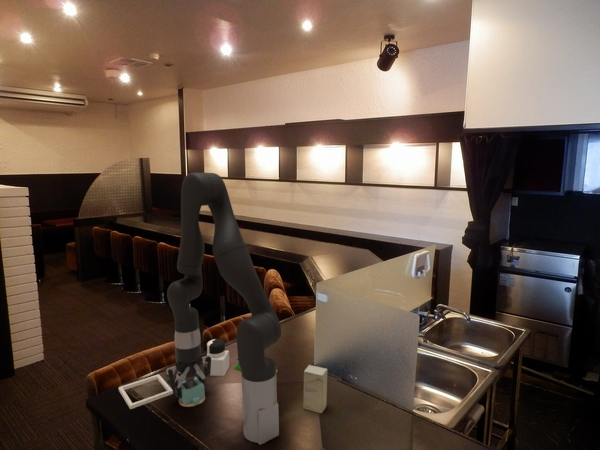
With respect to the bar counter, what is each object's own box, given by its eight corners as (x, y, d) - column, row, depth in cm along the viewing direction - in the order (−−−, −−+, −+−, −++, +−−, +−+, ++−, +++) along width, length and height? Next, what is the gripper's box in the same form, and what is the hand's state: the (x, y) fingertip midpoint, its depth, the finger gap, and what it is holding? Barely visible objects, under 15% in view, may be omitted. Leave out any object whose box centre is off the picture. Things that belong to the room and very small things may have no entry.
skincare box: (302, 409, 118) (302, 371, 117) (308, 401, 123) (308, 364, 121) (322, 414, 116) (322, 375, 114) (327, 405, 120) (327, 368, 118)
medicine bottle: (229, 368, 143) (228, 337, 141) (224, 379, 136) (222, 346, 134) (210, 367, 143) (209, 336, 142) (203, 378, 136) (202, 345, 135)
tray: (173, 397, 125) (173, 390, 125) (130, 412, 117) (129, 406, 117) (159, 380, 135) (158, 374, 135) (118, 393, 127) (118, 387, 127)
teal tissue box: (207, 399, 121) (206, 387, 120) (187, 407, 117) (186, 395, 116) (196, 388, 127) (195, 376, 127) (176, 395, 123) (176, 383, 123)
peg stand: (209, 403, 122) (208, 379, 120) (184, 413, 117) (183, 388, 116) (198, 392, 128) (197, 368, 127) (174, 401, 123) (173, 377, 122)
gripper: (169, 353, 113) (172, 407, 115) (215, 340, 122) (217, 390, 124) (159, 345, 119) (163, 396, 121) (204, 332, 128) (206, 380, 130)
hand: (190, 393), depth 123 cm, fingers closed on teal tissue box, 6 cm apart
